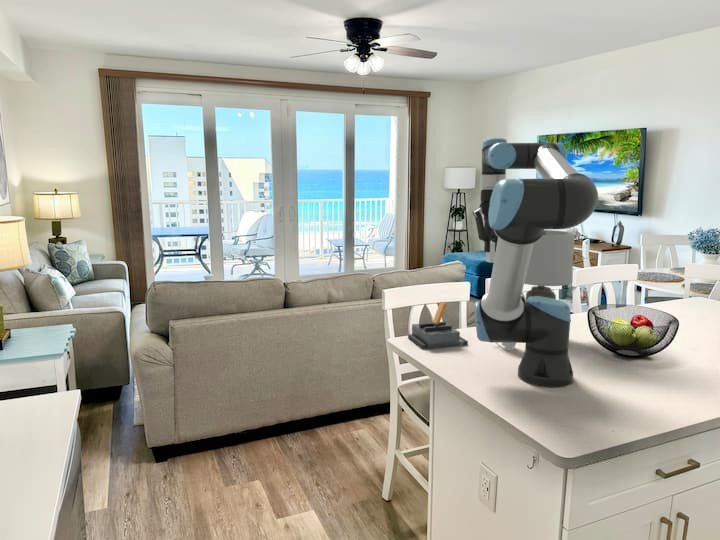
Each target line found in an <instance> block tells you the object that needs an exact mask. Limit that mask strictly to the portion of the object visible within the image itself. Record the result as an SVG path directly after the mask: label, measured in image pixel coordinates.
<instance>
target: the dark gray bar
mask: <svg viewBox="0 0 720 540" xmlns="http://www.w3.org/2000/svg"><path fill="white" fill-rule="evenodd" d="M407 339H408V340H409V341H410V342H412V343H413V344H415V345H416V346H417V347H419V348H420V349H421V350H426V349H427V348H426V344H424V343H423V342H422V341H420V340H419V339H417V338H416V337H415V336H413V335H412V333H410V334H407Z"/></svg>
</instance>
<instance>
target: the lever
mask: <svg viewBox="0 0 720 540" xmlns="http://www.w3.org/2000/svg"><path fill="white" fill-rule="evenodd" d="M446 307H447V304H446V303H445V302H442V301H440V302H439V305H438V307H437V311H436V313H435V315H434V316H433V317H434V318H433V320H432V322H431V323H432V324H433V325H435V326H439V323H440V322H441V320H442V317H443V315H444V312H445V309H446Z"/></svg>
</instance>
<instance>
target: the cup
mask: <svg viewBox="0 0 720 540" xmlns="http://www.w3.org/2000/svg"><path fill="white" fill-rule="evenodd" d="M494 344H496V345H497V346H498V347H500V348H502V350H504V351H505V350H506V351H514V350H515V346H517V345H516V344H517V343H508V342H501V344H500V342H494Z"/></svg>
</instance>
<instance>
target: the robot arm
mask: <svg viewBox="0 0 720 540" xmlns="http://www.w3.org/2000/svg"><path fill="white" fill-rule="evenodd" d="M506 170H536V171H537V172H538V175H540V177H541V178H520V177H514V178H506V177H507V176H506V174H507V173H506V172H507V171H506ZM480 174H481V179H480V188H482V189H481V190H480V204H479V207H478V209H477V210H473V211H472V215H473V217H474V218H475V223H476V229H477V230H476V231H477V235H478V239H479V240H480V241H483V242H484V243H483V244H484V250H483V251H484V252H485V262H487V263H490V264H491V263H493V265H492V272H491V277H490V282H489V287H488V291H487V292H485V294H484V295H482V298H481V300H478V301H475V302H474V306H473V307H474V318H475V319H474V322H475V330H476V331H475V332H476V337H477V339H478V341H480V342H487V343H491V344H492V343H495V342H498V343H502V342H508V343H516V344H517V343H518V344H520V343H521V344H525V348H524V352H523V355H522V356H521V360H520V363H519V364H518V367H517V376H518V377H519V379H521V380H522V381H524V382H526V383H527V384H531V385H535V386H540V387H546V388H547V387H548V388H558V387H559V388H560V387H566V386H570V385H572V383H574V371H573V368H572V363H571V359H570V358H569V357H570V356H569V345H570V330H571V322H572V319H571V317H572V316H571V307H570V306H569V304H567V303H566V302H564V301H562V300H559V299H557V298H556V299H552V298H547V297H541V296H530V297H529V298H528V299H527V302H526V301H523V299H522V294H523V289H524V285H525V284H524V282H525V278H526V273H527V269H528V265H529V261H530V257H531V253H532V249H533V244H534V243H536V242H537V241H539V240H540V239H541V237H542V235H543V232H544V230H566V229H571V228H575V227H576V226H579V225H580V224H582V223H584V222H586V221H587V219H588V218H589V217H590V216H591V215H592V214H593V213H594V211H595V210H596V207H597V205H598V200H599V193H598V189H597V186H596V184H595V183H594V182H593V181H592V179H591V178H590V177H588V175H586V174H583V173H579V172H578V171H577V170H576V169H575V168H574V167H573V166H572V164H571V163H570V162H569V161H568V160H567V149H566V145H565V144H564V143H561V142H554V141H553V142H552V141H549V142H507V139H506V138H499V137H498V138H496V137H495V138H493V137H492V138H485V139H484V140H483V141H482V148H481V173H480ZM482 215H483V216H482Z"/></svg>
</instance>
